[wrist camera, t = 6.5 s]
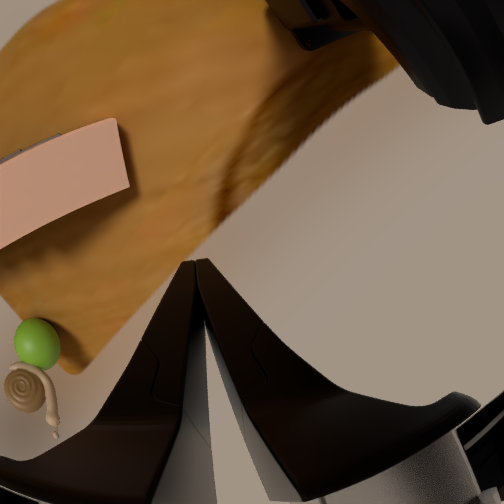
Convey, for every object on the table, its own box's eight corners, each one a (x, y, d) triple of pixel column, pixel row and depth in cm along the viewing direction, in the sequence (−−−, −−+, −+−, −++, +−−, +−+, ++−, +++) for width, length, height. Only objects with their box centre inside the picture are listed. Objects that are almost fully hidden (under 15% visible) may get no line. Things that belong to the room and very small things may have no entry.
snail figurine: (74, 345, 25) (63, 444, 16) (25, 331, 23) (5, 426, 13) (72, 317, 23) (54, 431, 14) (18, 301, 20) (-13, 407, 11)
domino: (115, 118, 13) (-29, 185, 8) (129, 186, 16) (-1, 249, 11) (111, 117, 14) (-24, 178, 9) (124, 180, 17) (1, 239, 12)
